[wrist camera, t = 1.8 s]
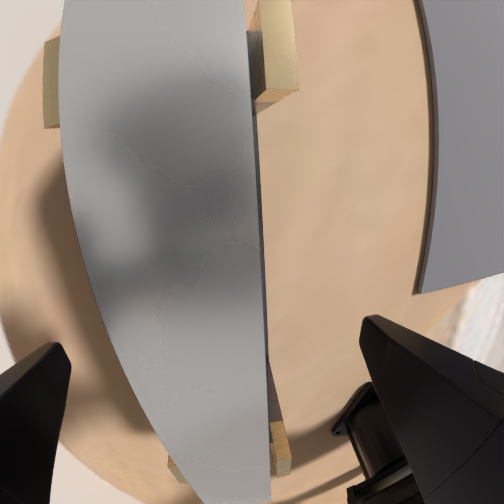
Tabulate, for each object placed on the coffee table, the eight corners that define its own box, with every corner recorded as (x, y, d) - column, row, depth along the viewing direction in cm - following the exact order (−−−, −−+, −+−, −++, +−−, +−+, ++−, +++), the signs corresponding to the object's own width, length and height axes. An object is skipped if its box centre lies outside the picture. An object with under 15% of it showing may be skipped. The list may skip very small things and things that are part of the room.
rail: (262, 452, 12) (271, 501, 9) (204, 457, 12) (205, 506, 9) (230, 1, 5) (238, -63, 2) (116, 18, 5) (70, -29, 2)
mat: (514, 266, 16) (517, 268, 16) (417, 290, 16) (420, 294, 15) (505, -8, 7) (508, -8, 7) (392, -72, 6) (395, -75, 6)
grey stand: (267, 378, 17) (289, 478, 10) (186, 386, 16) (182, 486, 10) (250, 60, 10) (288, -19, 4) (131, 75, 10) (46, 24, 3)
